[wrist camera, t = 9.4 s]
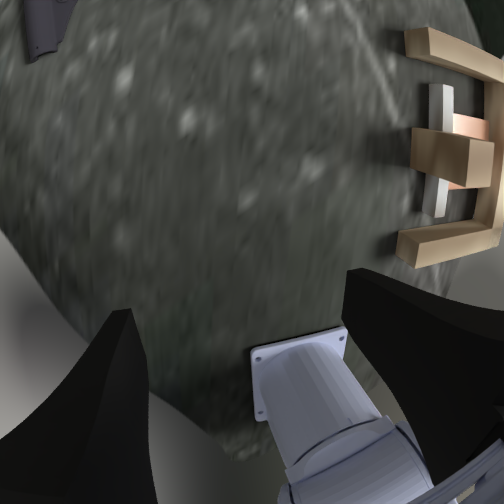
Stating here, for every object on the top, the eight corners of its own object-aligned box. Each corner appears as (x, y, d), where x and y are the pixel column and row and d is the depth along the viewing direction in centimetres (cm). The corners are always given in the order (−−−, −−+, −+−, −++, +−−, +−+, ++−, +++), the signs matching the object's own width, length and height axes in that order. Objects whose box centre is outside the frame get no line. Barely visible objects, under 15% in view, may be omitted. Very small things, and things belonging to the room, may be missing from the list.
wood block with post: (431, 210, 23) (481, 235, 18) (405, 213, 22) (456, 241, 17) (439, 86, 18) (495, 91, 14) (411, 79, 18) (470, 81, 13)
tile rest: (480, 236, 26) (497, 246, 24) (395, 254, 23) (414, 268, 21) (494, 65, 19) (514, 67, 16) (403, 31, 16) (428, 26, 14)
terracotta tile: (472, 182, 24) (484, 187, 22) (431, 184, 22) (443, 189, 21) (476, 118, 21) (489, 121, 20) (434, 110, 20) (448, 112, 18)
